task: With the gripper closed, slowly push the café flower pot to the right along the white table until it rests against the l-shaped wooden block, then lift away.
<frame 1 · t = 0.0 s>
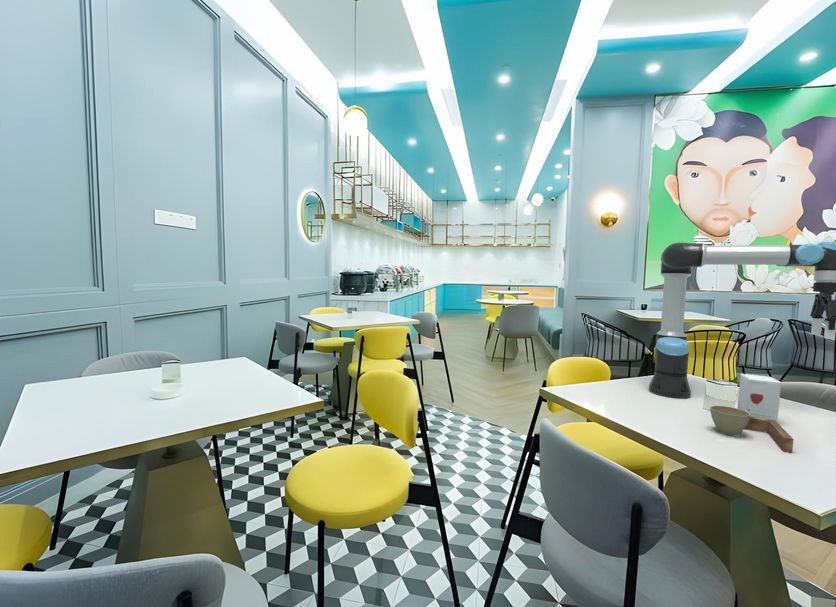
hand: (822, 336, 152), 28 cm above the table, fingers open, 13 cm apart
supplement box: (756, 419, 137), on the table
l-shaped wooden block: (778, 441, 118), on the table
flower pot: (727, 433, 124), on the table
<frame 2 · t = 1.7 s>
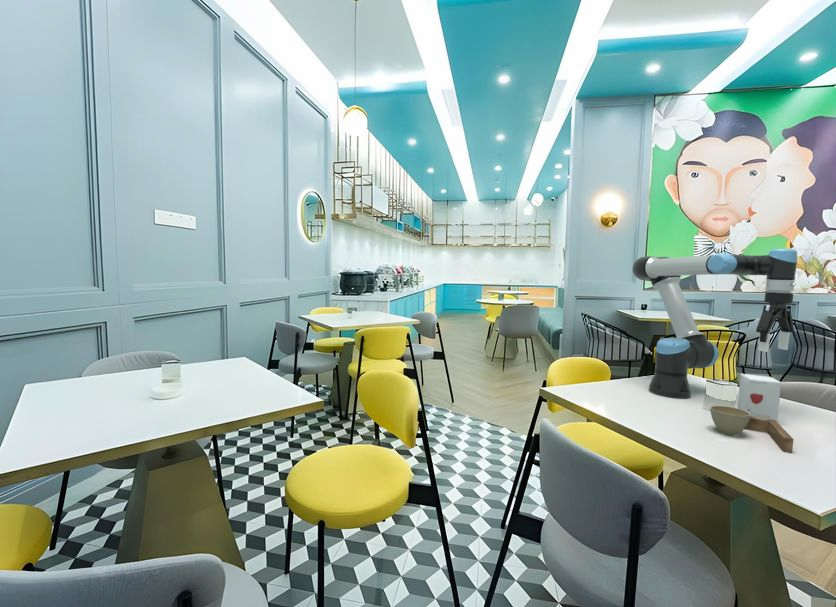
hand: (773, 350, 142), 24 cm above the table, fingers open, 13 cm apart
nothing on the table moved.
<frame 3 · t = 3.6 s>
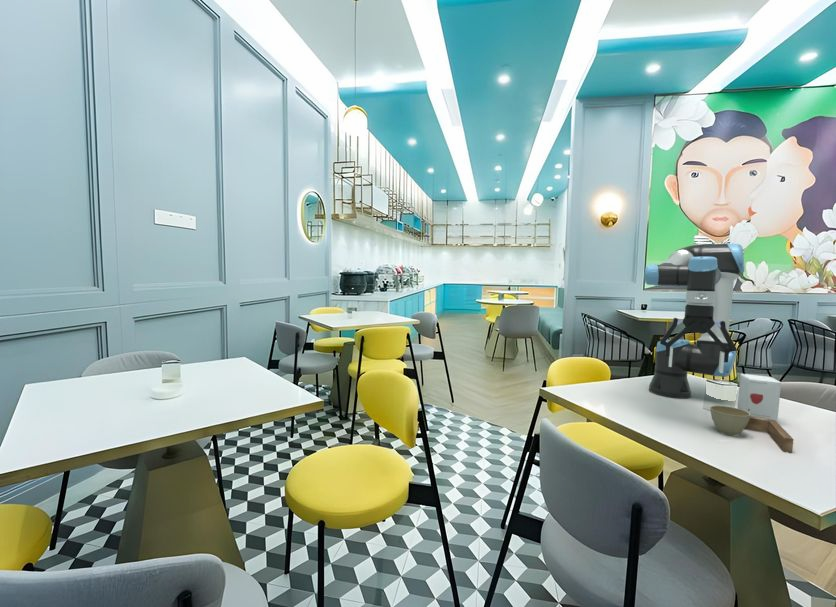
hand: (694, 369, 128), 19 cm above the table, fingers open, 13 cm apart
nothing on the table moved.
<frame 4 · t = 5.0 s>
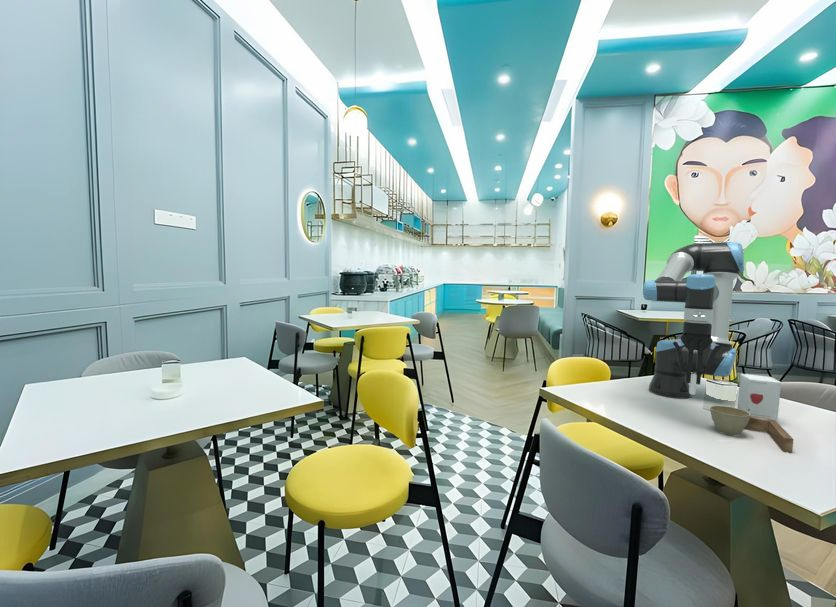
hand: (692, 393, 128), 11 cm above the table, fingers closed
nothing on the table moved.
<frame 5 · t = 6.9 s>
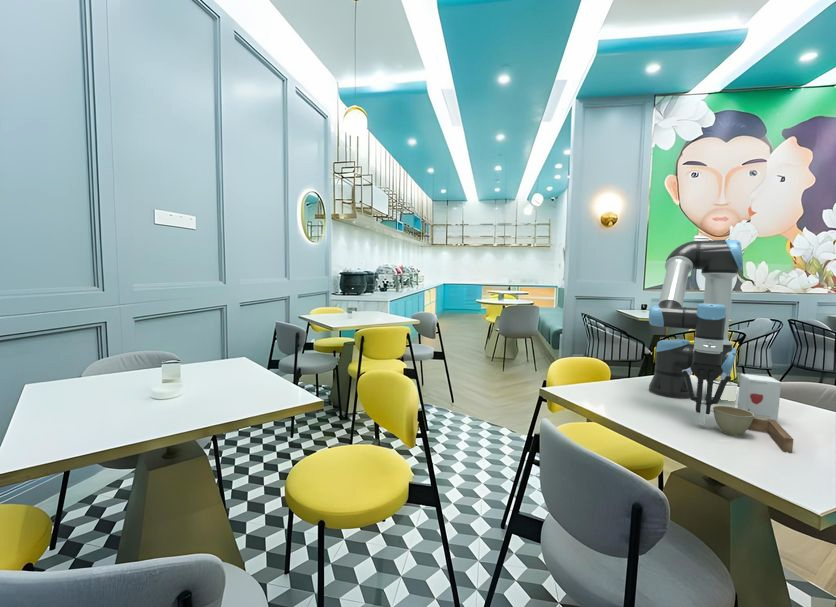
hand: (701, 423, 127), 2 cm above the table, fingers closed
flower pot: (730, 433, 123), on the table, touching gripper
everything else where it was.
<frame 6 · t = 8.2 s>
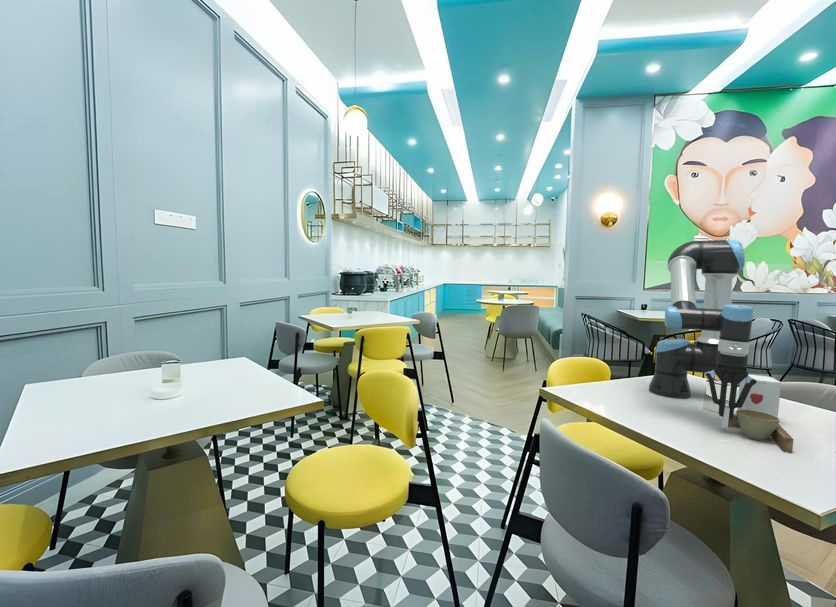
hand: (724, 426, 124), 2 cm above the table, fingers closed
flower pot: (754, 437, 120), on the table, touching l-shaped wooden block, gripper
everything else where it was.
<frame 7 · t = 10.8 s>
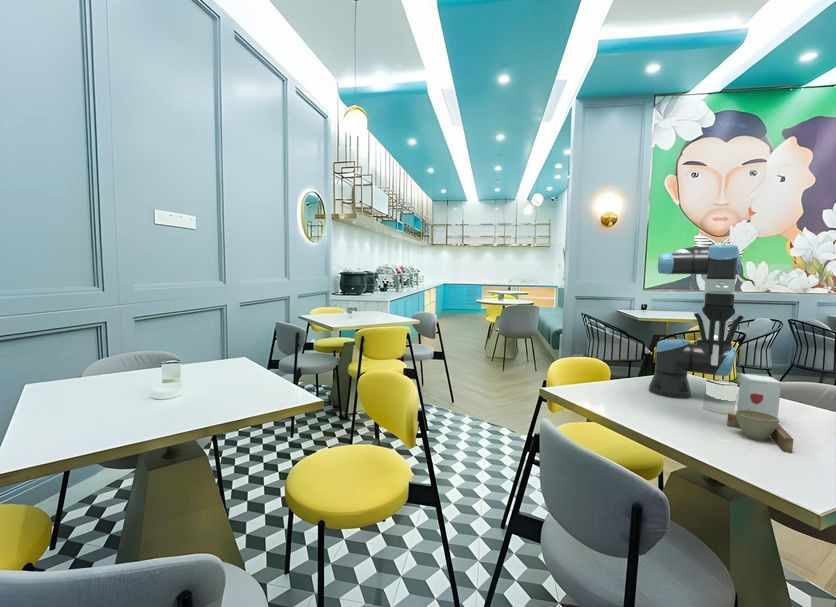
hand: (714, 364, 128), 21 cm above the table, fingers closed
flower pot: (754, 438, 120), on the table
everything else where it was.
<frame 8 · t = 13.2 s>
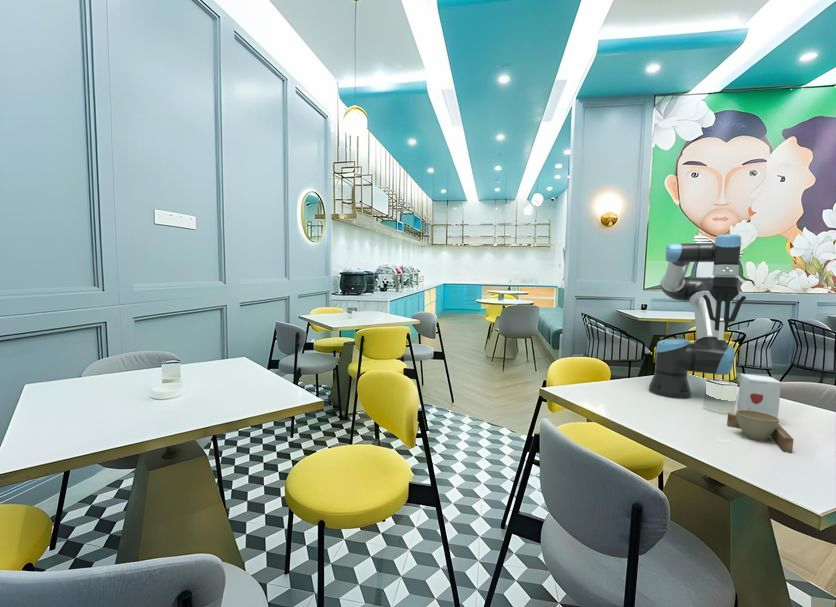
hand: (720, 339, 146), 26 cm above the table, fingers closed
nothing on the table moved.
at the end: flower pot 1.4 cm from the target spot on the l-shaped wooden block, point 0.0 cm above the l-shaped wooden block's base; flower pot tilted 0° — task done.
